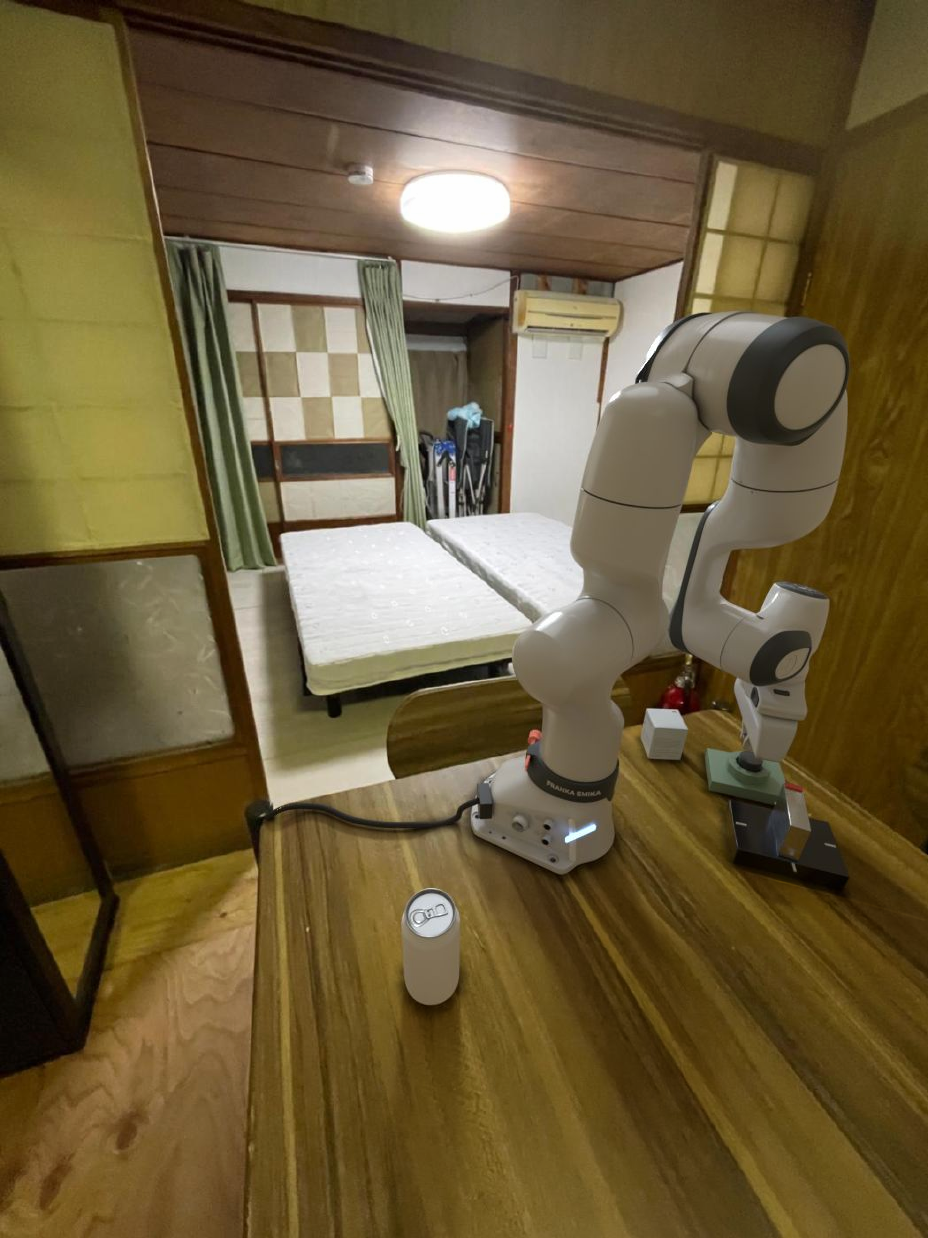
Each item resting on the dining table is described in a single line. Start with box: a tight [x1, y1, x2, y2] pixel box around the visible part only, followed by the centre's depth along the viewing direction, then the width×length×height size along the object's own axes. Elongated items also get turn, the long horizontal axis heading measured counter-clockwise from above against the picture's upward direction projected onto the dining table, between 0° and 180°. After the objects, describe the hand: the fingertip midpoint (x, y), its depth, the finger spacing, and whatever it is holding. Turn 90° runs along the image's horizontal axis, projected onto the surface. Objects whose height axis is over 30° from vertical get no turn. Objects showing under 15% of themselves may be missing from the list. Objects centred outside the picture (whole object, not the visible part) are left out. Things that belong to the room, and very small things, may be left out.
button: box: [737, 750, 763, 772], centre depth 88 cm, size 4×4×2 cm
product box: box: [640, 707, 689, 761], centre depth 96 cm, size 6×6×7 cm
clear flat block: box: [772, 781, 811, 861], centre depth 75 cm, size 9×2×6 cm, turn 156°
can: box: [400, 887, 461, 1006], centre depth 58 cm, size 6×6×12 cm
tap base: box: [724, 799, 850, 892], centre depth 77 cm, size 14×13×3 cm
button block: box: [704, 747, 787, 806], centre depth 89 cm, size 12×9×4 cm
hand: (746, 745), depth 89 cm, fingers closed
